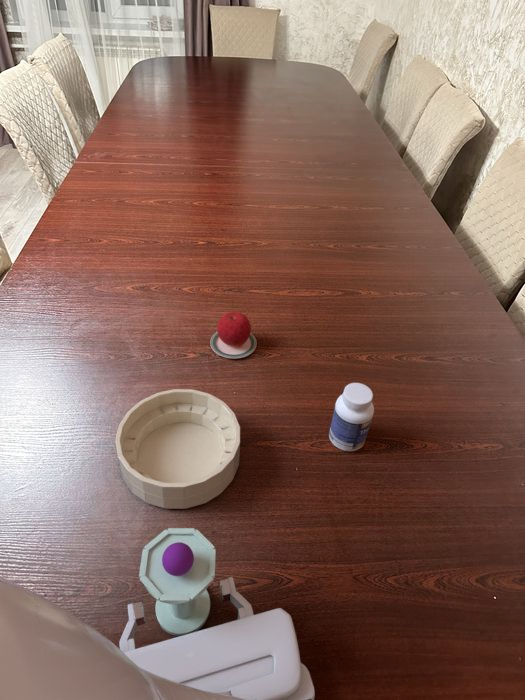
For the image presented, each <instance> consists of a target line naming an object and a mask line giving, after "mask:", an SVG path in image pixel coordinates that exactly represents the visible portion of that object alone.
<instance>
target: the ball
mask: <svg viewBox="0 0 525 700" xmlns="http://www.w3.org/2000/svg"><path fill="white" fill-rule="evenodd" d="M193 562H194V555H193V552H192V550H191V548H190V547H189V546H188V545H187V544H185V543H181V542H177V543H173V544H171V545H169V546H168V547H167V548H166V550H165V551H164V553H163V556H162V564H163V567H164V569H165V571H166V572H167V573H169V574H170V575H173V576H181V575H184V574H186V573H187V572H188V571H189V570H190V569H191V567H192V565H193Z"/></svg>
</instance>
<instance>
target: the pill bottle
mask: <svg viewBox="0 0 525 700" xmlns="http://www.w3.org/2000/svg"><path fill="white" fill-rule="evenodd" d="M373 398H374V393H373V391H372V390H371V388H370V387H369V386H367V385H366V384H364V383H360V382H350V383H348V384H347V385H346V386H344V389H343V391H342V394H340V395H339V396H338V397H337V399H336V401H335V405H334V407H333V413H332V418H331V422H330V425H329V426H330V427H329V432H328V437H329V440H330V442H331V443H332V445H333V446H334V447H336V448H337V449H339V450H341V451H345V452H355V451H358V450H360V449H361V448H363V446H364V444H365V442H366V439H367V437H368V433H369V430H370V426H371V424H372V420H373V417H374V413H375V407H374V404H373Z"/></svg>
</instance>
